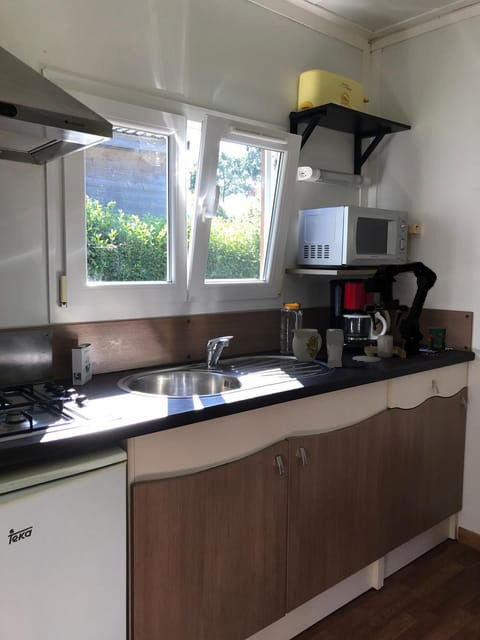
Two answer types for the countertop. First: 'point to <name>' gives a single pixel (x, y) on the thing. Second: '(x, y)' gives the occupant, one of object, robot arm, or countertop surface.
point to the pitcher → (306, 344)
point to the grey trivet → (367, 358)
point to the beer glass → (334, 347)
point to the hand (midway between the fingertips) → (385, 327)
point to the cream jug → (385, 346)
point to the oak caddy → (370, 350)
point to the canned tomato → (437, 339)
